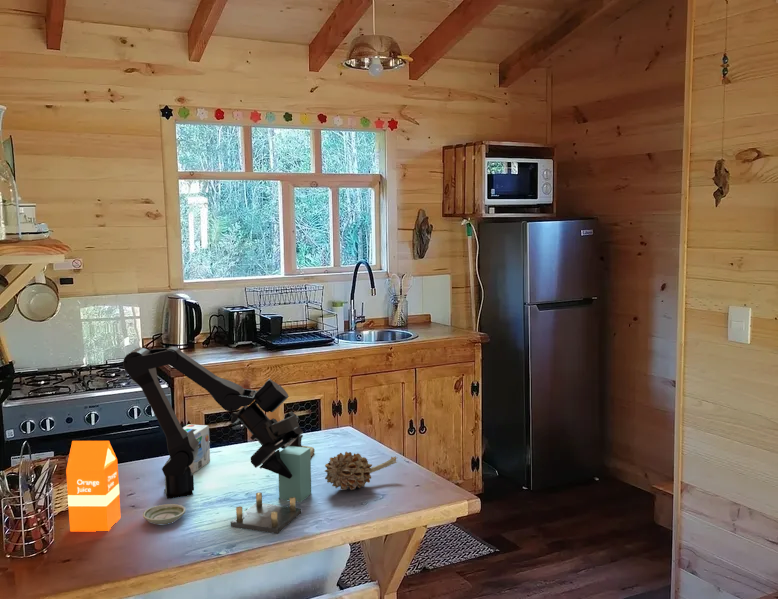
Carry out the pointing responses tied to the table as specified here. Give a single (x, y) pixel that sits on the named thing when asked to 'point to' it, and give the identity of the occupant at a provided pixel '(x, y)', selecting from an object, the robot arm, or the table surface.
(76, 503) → the orange juice
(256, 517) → the plate
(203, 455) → the light bulb box
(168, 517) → the saucer
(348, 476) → the pine cone
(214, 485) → the table surface
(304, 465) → the teal block
